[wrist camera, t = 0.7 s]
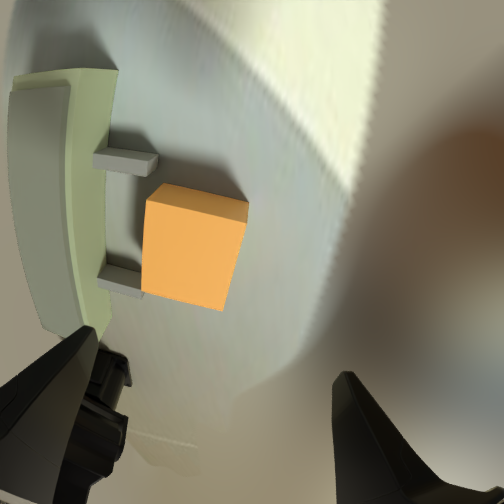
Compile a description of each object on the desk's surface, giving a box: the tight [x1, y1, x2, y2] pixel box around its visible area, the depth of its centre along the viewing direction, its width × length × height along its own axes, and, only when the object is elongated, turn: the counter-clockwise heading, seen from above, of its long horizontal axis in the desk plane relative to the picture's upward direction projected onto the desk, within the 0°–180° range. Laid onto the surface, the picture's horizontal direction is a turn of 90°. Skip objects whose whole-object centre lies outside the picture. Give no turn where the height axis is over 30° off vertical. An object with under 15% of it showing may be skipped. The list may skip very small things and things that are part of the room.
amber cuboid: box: [141, 183, 249, 311], centre depth 19 cm, size 7×6×4 cm
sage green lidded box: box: [7, 68, 159, 341], centre depth 17 cm, size 22×10×5 cm, turn 166°
